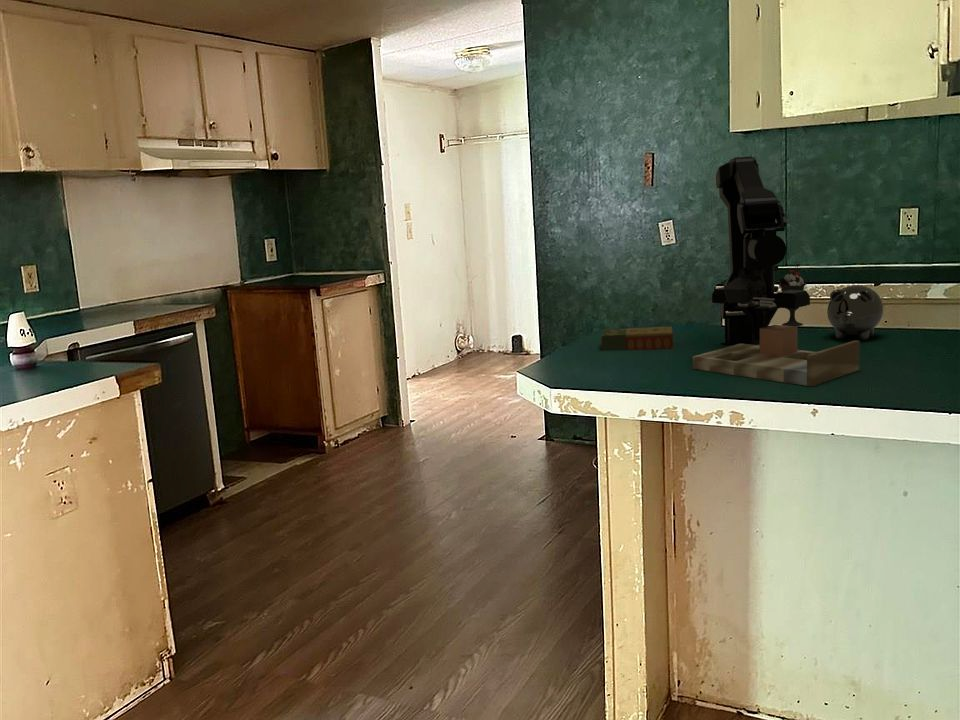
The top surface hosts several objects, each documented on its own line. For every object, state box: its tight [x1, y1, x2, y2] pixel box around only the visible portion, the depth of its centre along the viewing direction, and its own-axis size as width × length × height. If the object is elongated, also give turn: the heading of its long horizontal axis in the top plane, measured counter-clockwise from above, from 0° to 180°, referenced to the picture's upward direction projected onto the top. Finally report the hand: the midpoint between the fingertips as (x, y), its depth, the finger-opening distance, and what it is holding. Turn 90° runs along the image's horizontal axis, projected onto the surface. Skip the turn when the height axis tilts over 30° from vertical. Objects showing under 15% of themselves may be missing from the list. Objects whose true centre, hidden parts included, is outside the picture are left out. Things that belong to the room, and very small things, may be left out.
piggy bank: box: [826, 284, 884, 341], centre depth 182 cm, size 11×15×12 cm
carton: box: [600, 326, 674, 351], centre depth 190 cm, size 8×16×4 cm, turn 77°
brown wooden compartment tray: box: [692, 339, 861, 387], centre depth 158 cm, size 26×16×6 cm, turn 38°
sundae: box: [777, 263, 808, 327], centre depth 202 cm, size 7×7×15 cm
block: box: [759, 324, 799, 356], centre depth 161 cm, size 5×5×5 cm
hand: (758, 340), depth 164 cm, fingers closed
